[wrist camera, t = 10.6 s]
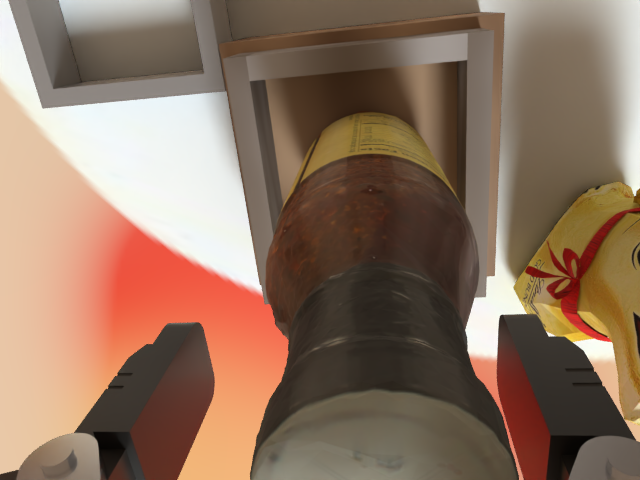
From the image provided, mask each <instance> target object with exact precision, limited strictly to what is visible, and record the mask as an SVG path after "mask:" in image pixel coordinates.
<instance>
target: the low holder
mask: <svg viewBox="0 0 640 480" xmlns="http://www.w3.org/2000/svg"><path fill="white" fill-rule="evenodd" d="M9 4H10V7H11V10H12V13H13V16H14V19H15V23H16V26H17V29H18V32H19V35H20V38H21V42H22V45H23V48H24V51H25V54H26V57H27V61H28V64H29V67H30V70H31V73H32V76H33V79H34V83H35V86H36V89H37V92H38V95H39V98H40V102H41V105H42V108H52V107H63V106H74V105H84V104H95V103H105V102H116V101H126V100H137V99H147V98H158V97H169V96H179V95H190V94H200V93H211V92H221V91H226V84H225V79H224V73H223V67H222V61H221V55H220V50H219V44H221V43H226V42H231V41H232V36H231V30H230V24H229V18H228V11H227V5H226V0H191V5H192V10H193V16H194V21H195V27H196V32H197V37H198V43H199V48H200V53H201V59H202V64H203V69H204V70H196V71H187V72H177V73H167V74H157V75H147V76H137V77H128V78H118V79H108V80H98V81H88V82H81V80H80V76H79V73H78V69H77V65H76V62H75V58H74V55H73V51H72V48H71V44H70V41H69V37H68V33H67V30H66V26H65V23H64V19H63V16H62V12H61V8H60V5H59V1H58V0H9Z"/></svg>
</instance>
